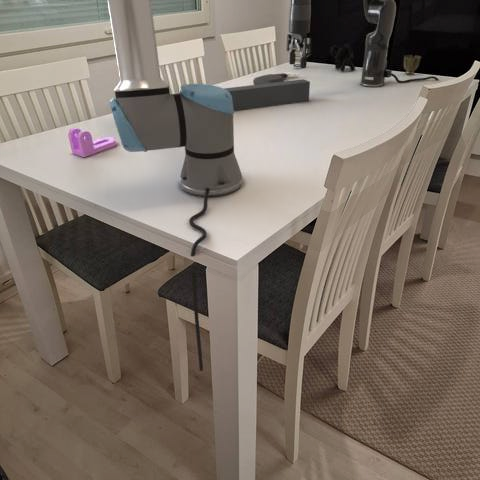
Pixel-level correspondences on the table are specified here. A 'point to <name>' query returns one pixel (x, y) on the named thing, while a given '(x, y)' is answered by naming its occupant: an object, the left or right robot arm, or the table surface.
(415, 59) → the cup
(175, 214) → the table surface
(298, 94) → the bar
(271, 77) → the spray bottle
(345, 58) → the black irregular legged piece
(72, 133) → the bracket
